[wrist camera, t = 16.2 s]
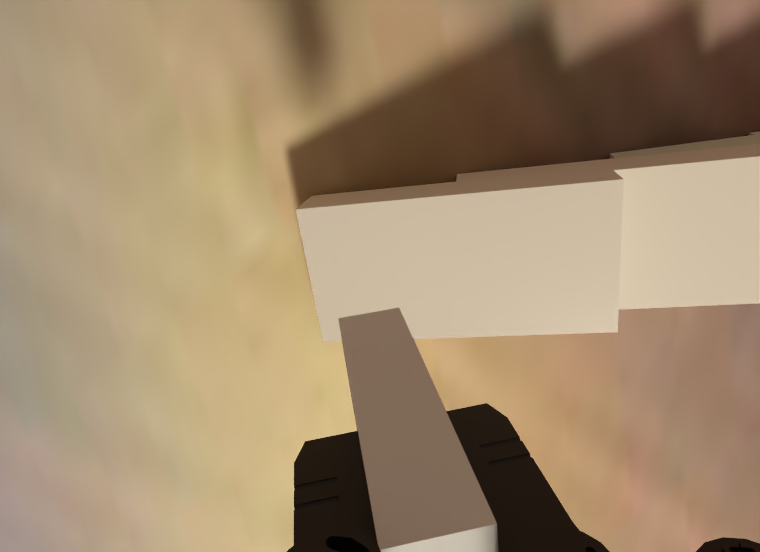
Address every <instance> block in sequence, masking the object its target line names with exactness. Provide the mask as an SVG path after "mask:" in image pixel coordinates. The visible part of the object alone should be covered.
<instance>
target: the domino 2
mask: <svg viewBox="0 0 760 552" xmlns="http://www.w3.org/2000/svg"><path fill="white" fill-rule="evenodd" d="M600 167H610V168H611V169H613V170H614V171H615V172H616V173H617V174H618V175H620V176H621V177H622V178H623V179H624V186H623V210H622V235H621V259H620V284H619V308H618V309H639V308H662V307H685V306H708V305H730V304H753V303H760V144H754V145H744V146H734V147H724V148H714V149H704V150H693V151H683V152H673V153H663V154H653V155H643V156H633V157H623V158H613V159H603V160H593V161H583V162H573V163H563V164H553V165H543V166H533V167H522V168H512V169H502V170H492V171H482V172H472V173H462V174H457V178H456V182H457V181H467V180H477V179H488V178H498V177H508V176H518V175H529V174H539V173H549V172H559V171H570V170H580V169H590V168H600Z"/></svg>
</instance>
